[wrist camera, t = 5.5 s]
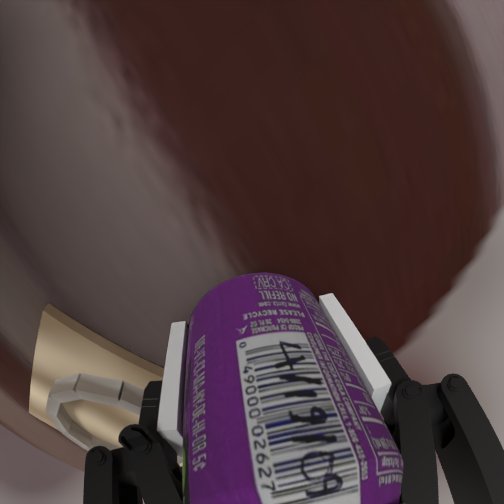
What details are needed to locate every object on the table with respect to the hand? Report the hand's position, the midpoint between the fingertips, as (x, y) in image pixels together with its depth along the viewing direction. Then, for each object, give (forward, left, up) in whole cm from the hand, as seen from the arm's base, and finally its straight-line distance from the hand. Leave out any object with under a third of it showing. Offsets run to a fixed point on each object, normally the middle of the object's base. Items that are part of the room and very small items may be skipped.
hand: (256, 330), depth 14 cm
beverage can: (0, 0, -1) cm, 1 cm away
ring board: (-12, -8, -1) cm, 14 cm away
